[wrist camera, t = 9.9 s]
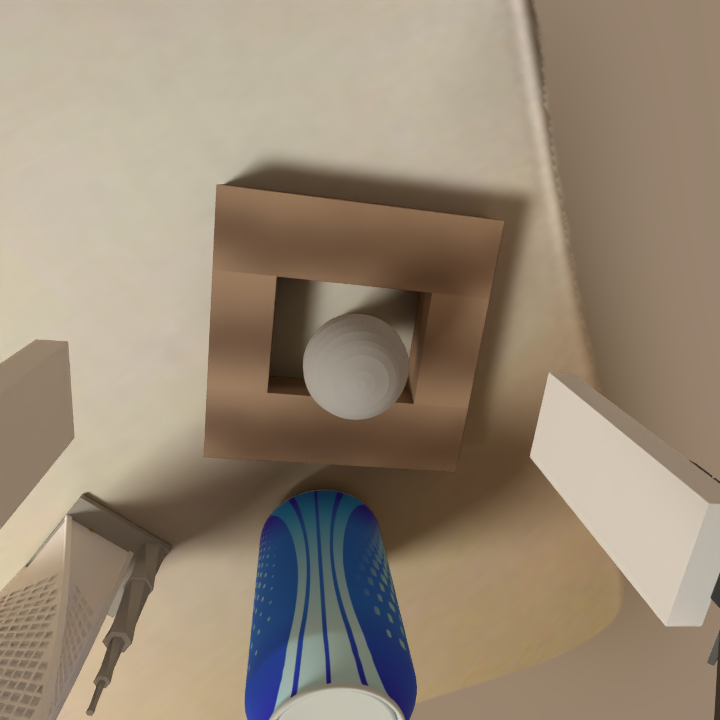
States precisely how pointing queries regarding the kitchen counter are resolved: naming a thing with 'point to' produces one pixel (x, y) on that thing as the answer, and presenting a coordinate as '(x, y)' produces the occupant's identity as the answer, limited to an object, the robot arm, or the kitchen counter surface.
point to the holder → (349, 266)
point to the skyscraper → (72, 608)
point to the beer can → (326, 617)
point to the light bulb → (355, 366)
